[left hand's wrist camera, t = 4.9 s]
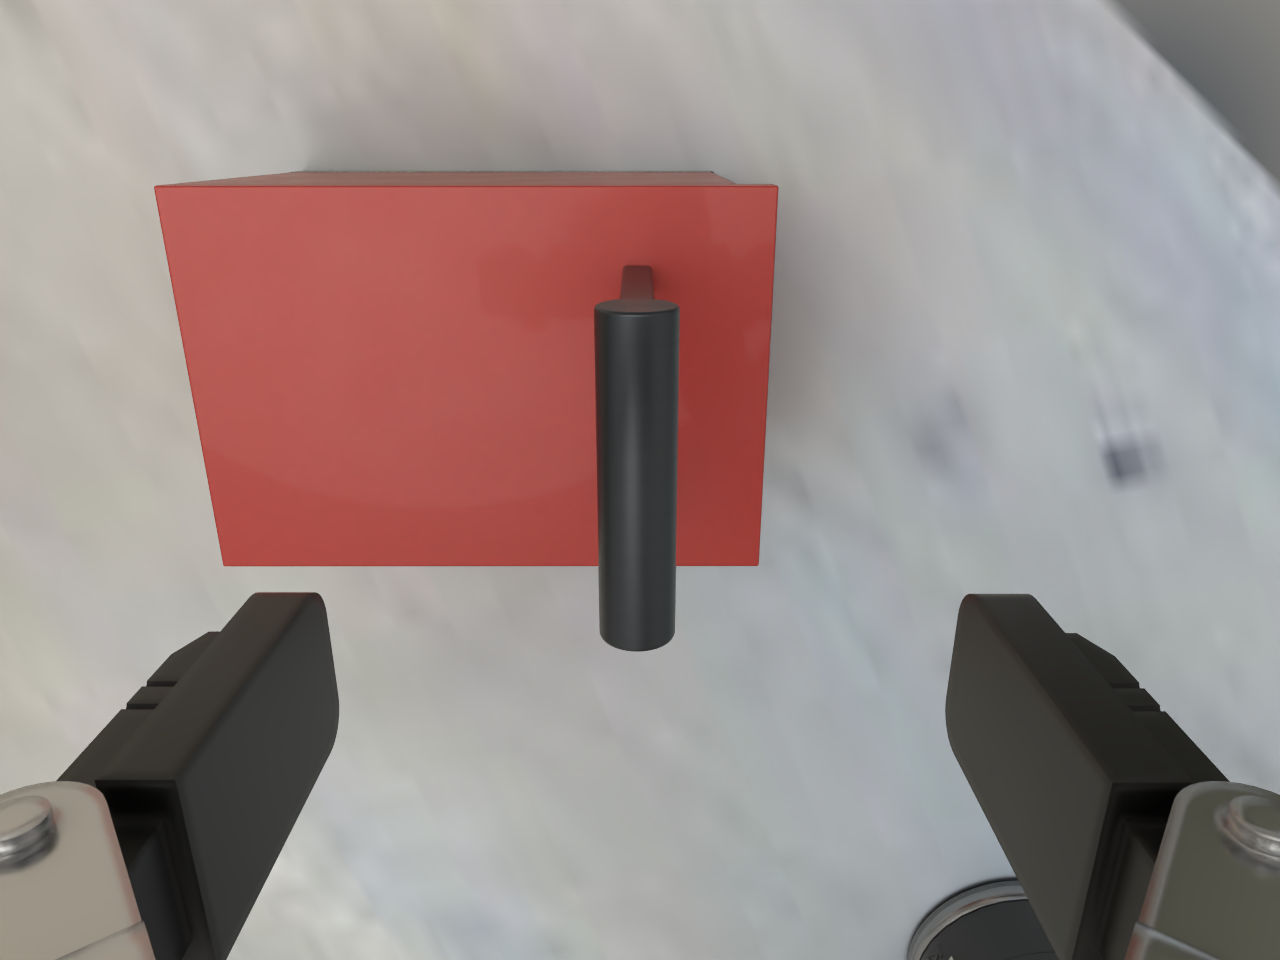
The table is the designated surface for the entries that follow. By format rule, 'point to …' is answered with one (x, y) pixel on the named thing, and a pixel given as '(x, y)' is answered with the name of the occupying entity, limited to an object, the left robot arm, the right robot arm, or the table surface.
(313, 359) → the lid
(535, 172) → the chest
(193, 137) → the table surface
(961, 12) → the table surface
